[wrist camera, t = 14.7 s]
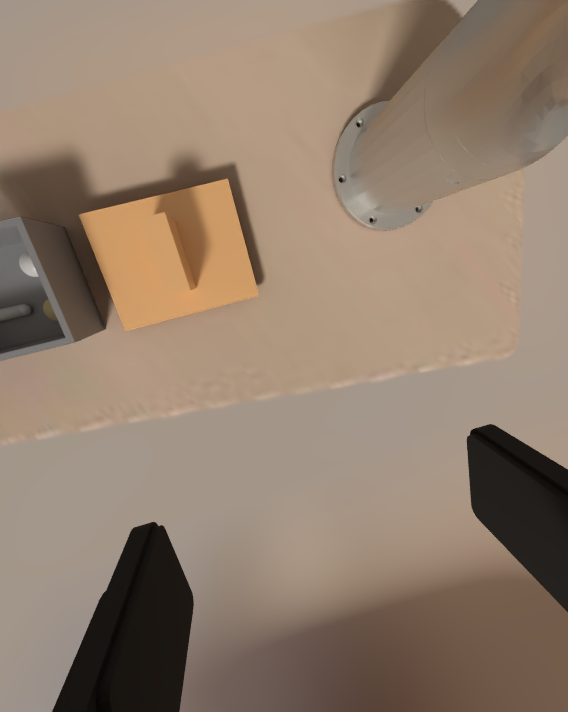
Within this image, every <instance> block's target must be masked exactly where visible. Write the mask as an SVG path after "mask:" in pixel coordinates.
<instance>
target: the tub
mask: <svg viewBox="0 0 568 712" xmlns="http://www.w3.org/2000/svg"><path fill="white" fill-rule="evenodd" d="M102 330H105V326H104V324H103V321H102V319H101V316H100V314H99V311H98V309H97V306H96V304H95V301H94V299H93V296H92V294H91V291H90V289H89V286H88V284H87V281H86V279H85V276H84V274H83V271H82V269H81V266H80V264H79V261H78V259H77V256H76V254H75V251H74V249H73V246H72V244H71V241H70V239H69V236H68V234H67V231H66V229H65V227H61V226H57V225H53V224H49V223H45V222H41V221H37V220H33V219H29V218H25V217H21V216H19V217H15V218H10V219H6V220H1V221H0V361H2V360H6V359H10V358H14V357H18V356H22V355H26V354H30V353H35V352H39V351H43V350H47V349H51V348H55V347H59V346H63V345H67V344H71V343H75V342H77V341H80V340H82V339H84V338H86V337H89V336H91V335H93V334H95V333H98V332H100V331H102Z"/></svg>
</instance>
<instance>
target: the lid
mask: <svg viewBox="0 0 568 712" xmlns="http://www.w3.org/2000/svg"><path fill="white" fill-rule="evenodd" d="M78 215H79V217H80V220H81V222H82V225H83V227H84V230H85V232H86V235H87V237H88V240H89V242H90V245H91V247H92V249H93V252H94V254H95V257H96V259H97V262H98V264H99V267H100V269H101V272H102V274H103V277H104V279H105V282H106V284H107V287H108V289H109V292H110V294H111V297H112V299H113V302H114V304H115V307H116V309H117V312H118V314H119V316H120V319H121V321H122V324H123V326H124V329H125V331H128V330H132V329H136V328H140V327H143V326H147V325H151V324H155V323H158V322H162V321H166V320H170V319H174V318H177V317H181V316H185V315H189V314H192V313H196V312H200V311H204V310H207V309H211V308H215V307H219V306H222V305H226V304H230V303H234V302H237V301H241V300H245V299H249V298H252V297H256V296H259V293H258V289H257V286H256V282H255V278H254V275H253V271H252V267H251V263H250V260H249V256H248V252H247V248H246V245H245V241H244V237H243V233H242V230H241V226H240V222H239V219H238V215H237V211H236V207H235V204H234V200H233V196H232V192H231V189H230V185H229V181H228V179H224V180H220V181H216V182H212V183H207V184H203V185H199V186H195V187H191V188H187V189H182V190H178V191H174V192H170V193H166V194H162V195H157V196H153V197H149V198H145V199H141V200H137V201H132V202H128V203H124V204H120V205H116V206H112V207H107V208H103V209H99V210H95V211H91V212H87V213H83V214H78Z"/></svg>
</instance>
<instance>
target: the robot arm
mask: <svg viewBox="0 0 568 712" xmlns="http://www.w3.org/2000/svg"><path fill="white" fill-rule="evenodd" d="M356 124H358V125H359V128H358V127H357V126H356ZM567 136H568V0H478V1H477V2H476V3H475V4H474V6H473V7H472V8H471V9H470V10H469V11H468V12H467V14H466V15H465V16H464V17H463V18H462V19H461V20H460V21H459V23H458V24H457V25H456V26H455V27H454V28H453V29H452V31H451V32H450V33H449V34H448V35H447V37H446V38H445V39H444V40H443V41H442V42H441V43H440V44H439V45H438V46H437V48H436V49H435V50H434V51H433V52H432V53H431V54H430V55H429V57H428V58H427V59H426V60H425V61H424V62H423V63H422V65H421V66H420V67H419V68H418V69H417V70H416V71H415V72H414V74H413V75H412V76H411V77H410V78H409V79H408V80H407V82H406V83H405V84H404V85H403V86H402V87H401V88H400V89H399V91H398V92H397V93H396V94H395V95H394V96H393V97H392V99H391V100H388V101H381V102H378V103H375V104H372V105H370V106H368V107H367V108H365V109H363V110H362V111H361V112H359V113H358V114H357V115H356V116H355V117H354V118H353V119H352V120H351V121H350V123H349V124H348V125H347V127H346V128H345V130H344V131H343V133H342V135H341V136H340V138H339V141H338V143H337V146H336V148H335V153H334V157H333V165H332V176H333V184H334V188H335V192H336V195H337V198H338V200H339V202H340V204H341V205H342V207H343V208H344V210H345V211H346V212H347V214H348V215H349V216H350V217H351V218H352V219H354V220H355V221H356V222H357V223H359V224H361V225H363V226H364V227H367V228H370V229H374V230H382V231H386V230H393V229H397V228H401V227H404V226H406V225H408V224H410V223H412V222H413V221H415V220H416V219H418V218H419V217H420V216H421V215H422V214H423V213H424V212H425V211H426V210H427V209H428V208H429V206H430V205H431V203H432V202H433V201H434V200H437V199H440V198H442V197H445V196H448V195H451V194H454V193H456V192H459V191H462V190H465V189H467V188H470V187H473V186H476V185H479V184H481V183H484V182H487V181H490V180H493V179H495V178H498V177H501V176H504V175H507V174H509V173H512V172H515V171H517V170H520V169H522V168H524V167H527V166H529V165H530V164H532V163H534V162H536V161H537V160H539V159H541V158H542V157H544V156H545V155H546V154H548V153H549V152H550V151H551V150H553V149H554V148H555V147H556V146H557V145H558V144H560V143H561V142H562V141H563V140H564V139H565V138H566V137H567ZM339 178H340V179H342V183H340V182H339ZM415 208H416V210H415ZM369 219H372V222H371V223H370V221H369ZM467 450H468V464H469V478H470V491H471V505H472V509H473V512H474V513H475V515H476V517H477V518H478V519H479V520H480V521H481V522H482V523H483V524H484V526H485V527H486V528H487V529H488V530H489V531H490V532H491V533H492V534H493V535H494V536H495V537H496V538H497V539H498V540H499V541H500V542H501V543H502V544H503V545H504V546H505V547H506V548H507V549H508V551H509V552H510V553H511V554H512V555H513V556H514V557H515V558H516V559H517V560H518V561H519V562H520V563H521V564H522V565H523V566H524V567H525V568H526V569H527V570H528V571H529V572H530V573H531V574H532V575H533V577H534V578H536V580H537V581H538V582H539V583H540V584H541V585H542V586H543V587H544V588H545V589H546V590H547V591H548V592H549V593H550V594H551V595H552V596H553V597H554V598H555V599H556V600H557V602H559V604H560V605H561V606H562V607H563V608H564V609H565V610H566V611H567V612H568V469H566V468H564V467H563V466H561V465H559V464H557V463H556V462H554V461H553V460H551V459H549V458H548V457H546V456H544V455H543V454H541V453H539V452H538V451H536V450H534V449H533V448H531V447H529V446H528V445H526V444H525V443H523V442H521V441H519V440H518V439H516V438H515V437H513V436H511V435H510V434H508V433H507V432H505V431H503V430H502V429H500V428H498V427H497V426H495V425H492V424H489V425H486V426H482V427H479V428H475V429H473V430H471V432H470V436H468V437H467ZM193 605H194V604H193V594H192V591H191V589H190V587H189V584H188V582H187V579H186V577H185V575H184V572H183V570H182V568H181V565H180V563H179V560H178V558H177V556H176V553H175V551H174V549H173V546H172V544H171V542H170V539H169V537H168V534H167V532H166V530H165V528H164V526H162V525H161V526H158V525H157V523H155V522H151V523H148V524H145V525H142V526H138V527H134V528H133V529H132V531H131V532H130V535H129V537H128V540H127V542H126V545H125V547H124V549H123V552H122V554H121V556H120V559H119V561H118V564H117V566H116V569H115V571H114V573H113V576H112V578H111V581H110V583H109V585H108V588H107V590H106V591H105V592H104V593H103V595H102V597H101V598H100V600H99V603H98V605H97V607H96V610H95V612H94V614H93V617H92V619H91V622H90V624H89V626H88V628H87V631H86V633H85V636H84V638H83V640H82V643H81V645H80V648H79V650H78V652H77V655H76V657H75V659H74V662H73V664H72V666H71V669H70V671H69V673H68V676H67V678H66V680H65V683H64V685H63V687H62V690H61V692H60V695H59V697H58V699H57V702H56V704H55V706H54V709H53V711H52V712H179V710H180V702H181V695H182V687H183V680H184V672H185V666H186V657H187V650H188V643H189V636H190V628H191V621H192V614H193Z"/></svg>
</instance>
